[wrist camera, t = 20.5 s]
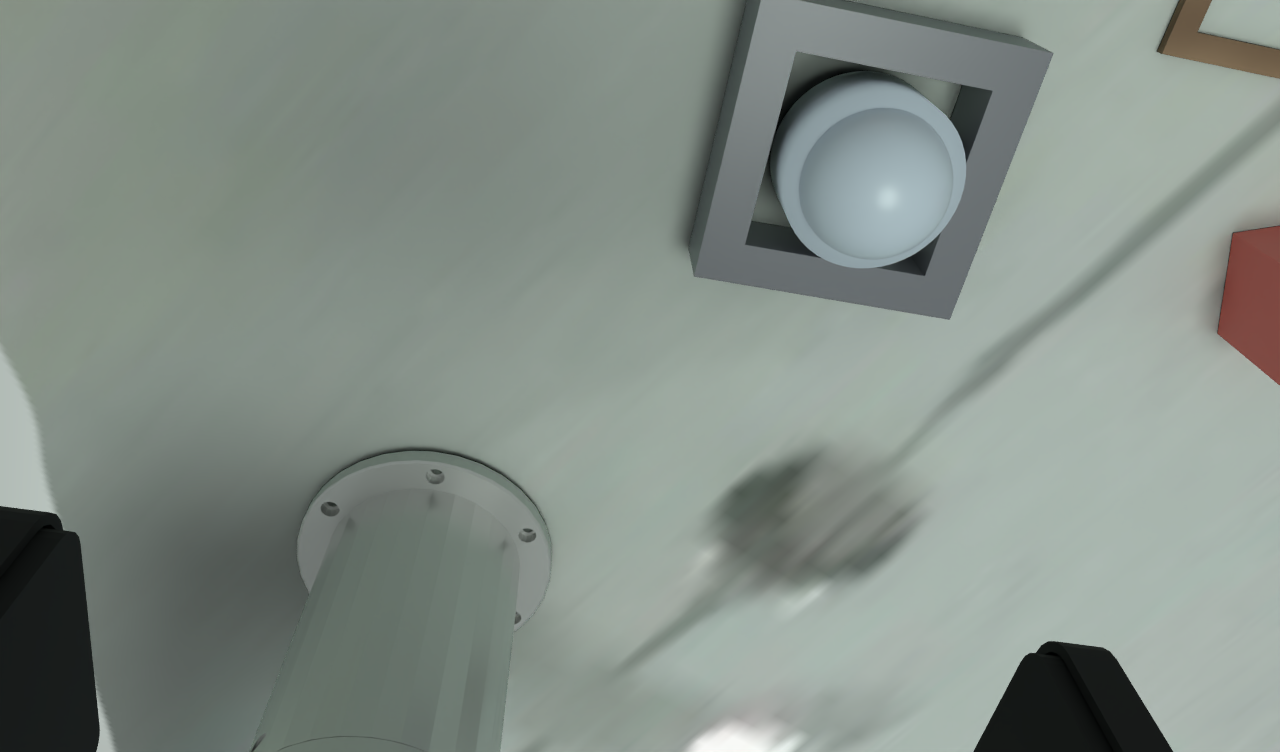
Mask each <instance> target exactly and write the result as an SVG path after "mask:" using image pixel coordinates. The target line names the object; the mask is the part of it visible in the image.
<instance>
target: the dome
mask: <svg viewBox="0 0 1280 752" xmlns="http://www.w3.org/2000/svg"><path fill="white" fill-rule="evenodd" d="M770 169H771V178H772V183H773V187H774V189H775V192H776V195H777V197H778V199H779V201H780V204H781V206H782V208H783V210H784V212H785V214H786V217H787V219H788V221H789V223H790V225H791V227H792V229H793V231H794V232H795V234H796V235H797V237H798V238H799V239H800V241H801V242H802V243H803V244H804V245H805V246H806V247H807V248H808V249H809V250H811V251H812V252H813V253H815V254H816V255H817V256H819V257H821V258H823V259H825V260H826V261H829V262H831V263H834V264H837V265H841V266H845V267H851V268H875V267H882V266H886V265H890V264H893V263H896V262H898V261H901V260H904V259H906V258H908V257H910V256H912V255H913V254H915V253H917V252H918V251H920V250H921V249H923V248H924V247H925V246H927V245H928V244H929V243H930V242H931V241H933V240H934V239H935V238H936V237H937V236H938V235H939V234H940V232H941V231H942V230H943V229H944V228H945V226H946V225H947V224H948V222H949V221H950V219H951V218H952V216H953V214H954V213H955V211H956V209H957V207H958V204H959V202H960V200H961V196H962V193H963V190H964V185H965V179H966V158H965V152H964V148H963V144H962V141H961V139H960V136H959V134H958V132H957V130H956V128H955V127H954V125H953V124H952V122H951V121H950V120H949V119H948V117H947V116H946V115H945V114H944V113H943V112H942V111H941V110H939V109H938V108H937V107H936V106H935V105H934V104H932V103H931V102H930V101H929V100H928V99H927V98H925V97H924V96H923V95H922V94H921V93H920V92H918V91H917V90H916V89H915V88H914V87H912V86H911V85H910V84H908V83H907V82H905V81H903V80H902V79H899V78H897V77H895V76H892V75H889V74H885V73H882V72H874V71H856V72H849V73H845V74H841V75H837V76H834V77H832V78H830V79H827V80H825V81H823V82H821V83H820V84H818V85H816V86H814V87H813V88H812V89H810V90H809V91H808V92H806V93H805V94H804V95H803V96H802V97H801V98H799V99H798V100H797V101H796V102H795V104H794V105H793V106H792V107H791V108H790V110H789V111H788V112H787V114H786V115H785V117H784V118H783V120H782V122H781V124H780V126H779V128H778V130H777V132H776V135H775V138H774V141H773V145H772V150H771V159H770Z"/></svg>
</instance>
